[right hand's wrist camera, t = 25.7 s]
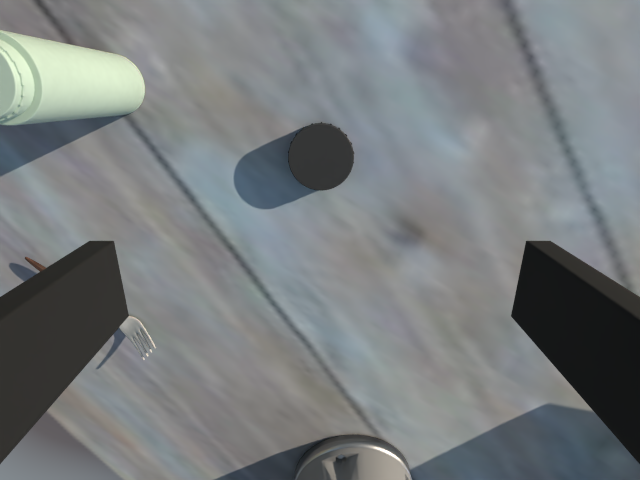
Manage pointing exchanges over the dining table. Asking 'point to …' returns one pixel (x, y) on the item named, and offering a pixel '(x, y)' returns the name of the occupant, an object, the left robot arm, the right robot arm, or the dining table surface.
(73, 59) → the jar
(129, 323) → the fork
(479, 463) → the dining table surface
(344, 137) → the lid
